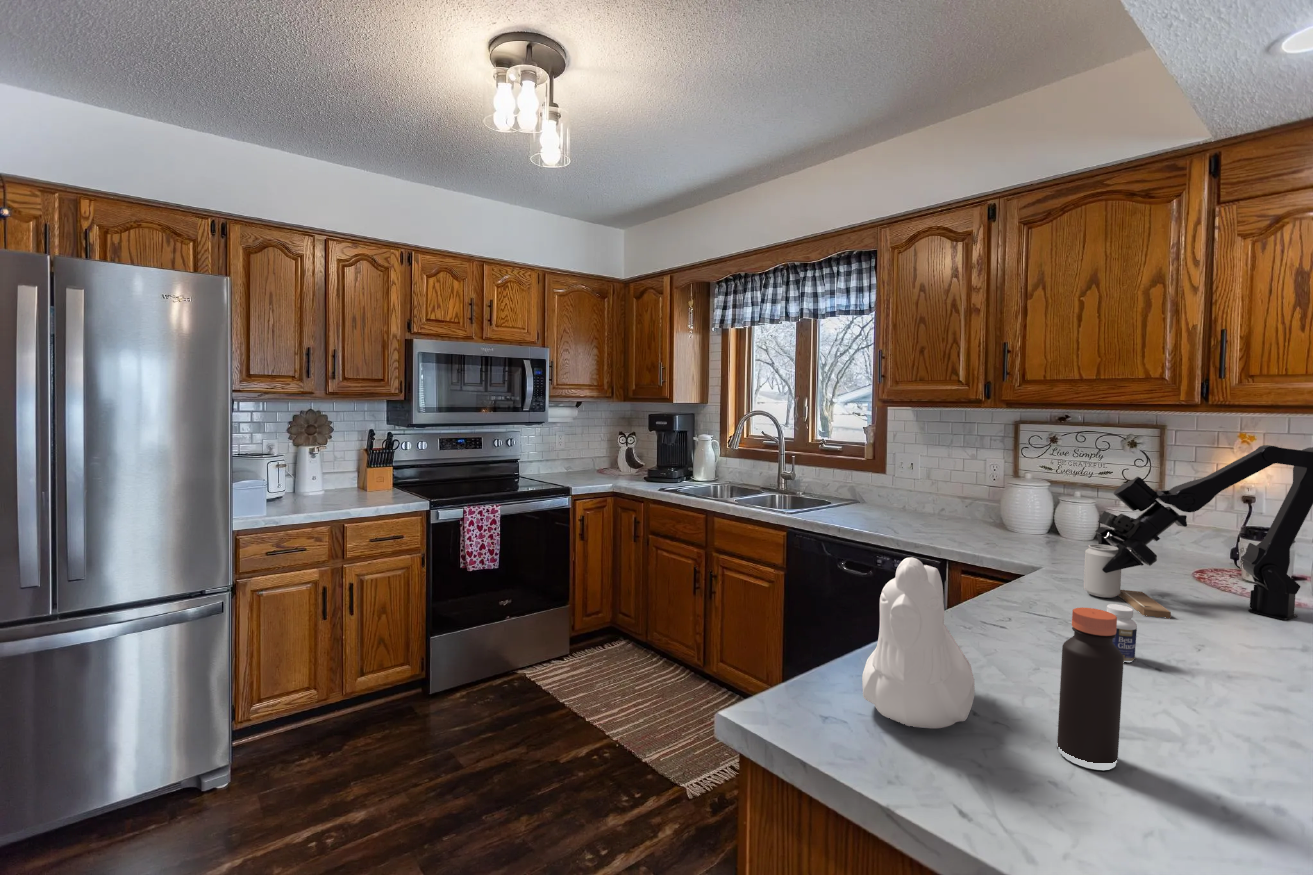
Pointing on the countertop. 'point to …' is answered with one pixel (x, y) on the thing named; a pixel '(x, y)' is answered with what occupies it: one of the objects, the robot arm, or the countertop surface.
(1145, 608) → the plank
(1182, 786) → the countertop surface
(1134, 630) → the pill bottle
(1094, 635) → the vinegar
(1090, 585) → the can
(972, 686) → the decorative rooster
